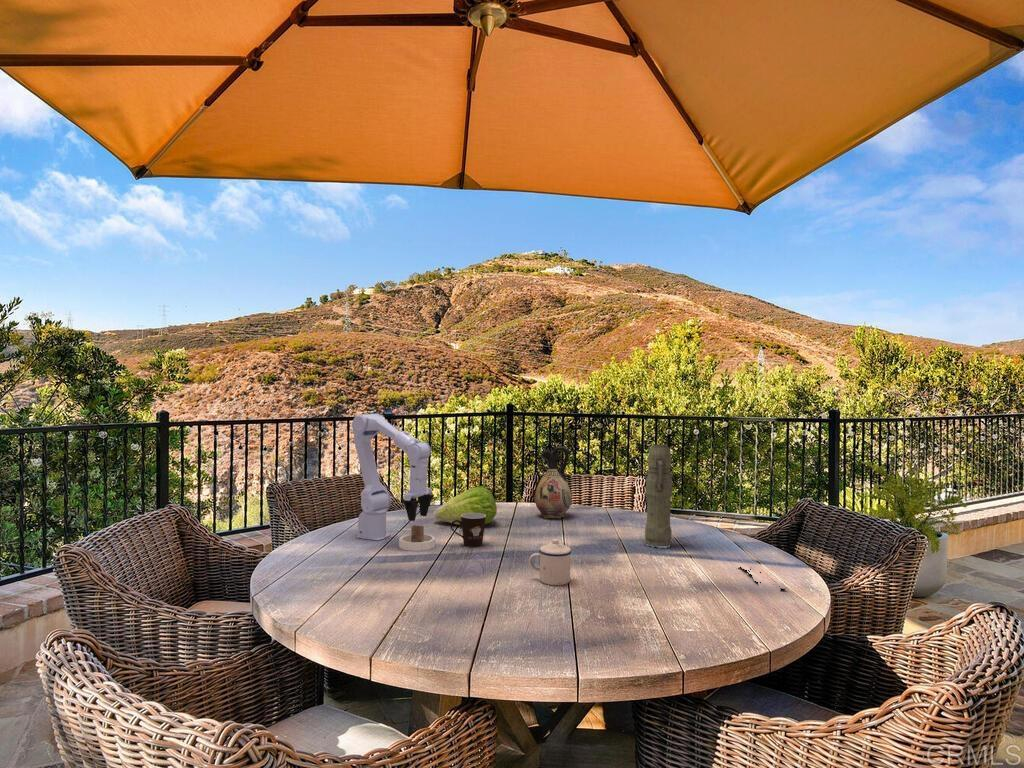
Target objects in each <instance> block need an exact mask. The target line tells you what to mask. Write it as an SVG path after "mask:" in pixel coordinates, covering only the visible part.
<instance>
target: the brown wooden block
mask: <svg viewBox="0 0 1024 768" xmlns="http://www.w3.org/2000/svg"><path fill="white" fill-rule="evenodd" d="M410 528H411V529H410V531H411V533H410V534H411V542H412V539H415V540H418V542H424V534H425V527H424V526H421V525H415V524H414V525H411V527H410Z"/></svg>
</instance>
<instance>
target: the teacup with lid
mask: <svg viewBox="0 0 1024 768" xmlns="http://www.w3.org/2000/svg"><path fill="white" fill-rule="evenodd" d="M538 551H539V553H538V552H535V553H532V554H531V555H530V557H529V558H528V564H529V566H530V568H531V569H532V570H533V571H536V572H539V580H540V582H542V583H543V584H545V585H549V586H563V585H566V584H569V582H570V581H571V555H572V550H571V548H570V547H569V546H567V545H565V544H563V543H561V542H560V540H559V539H558V538H553V539H552V540H551V542H548V543H547V544H544V545H541V546H540V547H539V550H538ZM534 557H539V567H536V566H535V565H534V564H533V561H532V559H533V558H534Z"/></svg>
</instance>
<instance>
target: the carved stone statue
mask: <svg viewBox="0 0 1024 768" xmlns="http://www.w3.org/2000/svg"><path fill="white" fill-rule="evenodd" d="M671 453H672V452H671V451H670V447H669V446H668V445H666V444H653V445H651V446H650V448H649V451H648V459H647V460H648V464H647V465H648V471H647V472H648V473H647V477H646V480H645V484H646V485H645V486H646V487H645V495H646V498H647V499H646V500H647V501H646V502H647V503H646V504H647V505H646V524H645V528H644V537H645V542H646V544H648V545H652V546H669V545H670V544H671V543H672V542H671V541H672V534H673V533H672V532H673V531H672V528H671V498H672V496H673V479H672V476H671V473H672V472H671V467H672V465H671V464H672V462H671V461H672V454H671ZM646 544H645V545H646Z"/></svg>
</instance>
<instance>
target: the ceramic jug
mask: <svg viewBox="0 0 1024 768" xmlns="http://www.w3.org/2000/svg"><path fill="white" fill-rule="evenodd" d="M558 452H562V453H563V454H564V458H563V459H564V460H563V463H562V465H561V468H559V466H558V463H560V462H561V461H562V458H561V457H560V456H559V455H558V454H557V453H558ZM569 456H570V454H569V450H568V448H567V447H565V446H562V445H561V446H556V447H554V448H553V450H552V452H551V451H550V449H549V448H546V450H544V451H543V452H542V453H540V455H539V456H538V457H539V458H541V459H544V460H545V461H547V462H548V468H547V469H546V471H545V472H544V474H543V475H542V477H541V478H540V480H539V482H538V484H537V486H536V489H535V493H534V503H535V506H536V508H537V510H538V511H539V512H540V514H541V517H542V516H543V517H546V518H545V519H547V518H559V519H562V518H561V517H563V518H565V517H564V516H566V515H565V514H566V513H567V512H568V510H569V509H570V508H571V505H572V500H573V499H572V492H571V488H570V485H569V483H568V482H567V481H568V480H567V476H566V473H565V471H566V468H567V464H568V461H569V459H570V457H569ZM543 517H542V518H543Z"/></svg>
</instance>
